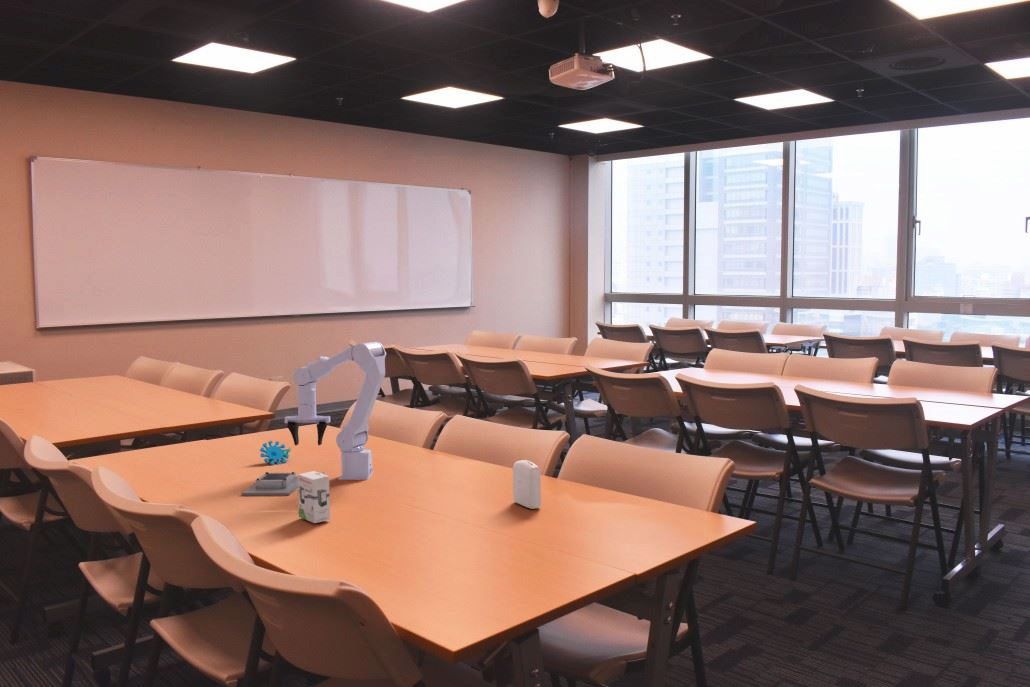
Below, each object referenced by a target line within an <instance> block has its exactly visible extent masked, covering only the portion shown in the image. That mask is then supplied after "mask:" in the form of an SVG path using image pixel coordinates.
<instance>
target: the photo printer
mask: <svg viewBox="0 0 1030 687" xmlns="http://www.w3.org/2000/svg"><path fill="white" fill-rule="evenodd" d="M541 485H542V484H541V470H540V467H538V465H537V464H535V463H534V462H532V461H530V460H526V459H522V460H517V461H515V462H514V464H513V467H512V492H513V493H512V495H513V497H512V498H513V502H514V503H516V504H518V505H521V506H523V507H525V508H528V509H533V510H535V509H539V508H540V507H541V505H542V495H541V494H542V491H541V490H542V488H541Z"/></svg>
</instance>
